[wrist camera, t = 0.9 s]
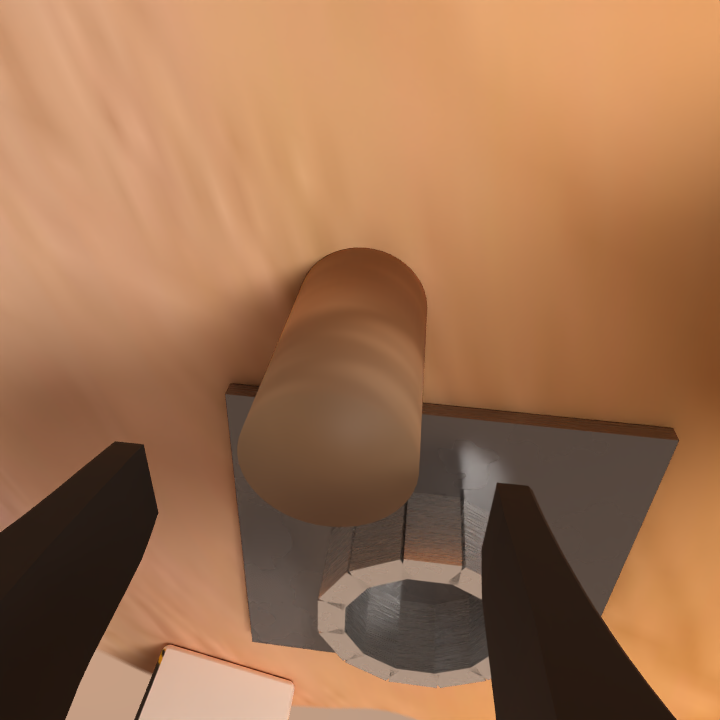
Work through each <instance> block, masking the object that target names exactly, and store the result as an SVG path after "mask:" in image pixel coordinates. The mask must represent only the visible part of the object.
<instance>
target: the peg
mask: <svg viewBox="0 0 720 720" xmlns="http://www.w3.org/2000/svg"><path fill="white" fill-rule="evenodd" d="M426 321H427V300H426V295H425V291H424V289H423V286H422V284H421V282H420V281H419V279H418V277H417V276H416V275H415V273H414V272H413V271H412V270H411V269H410V268H409V267H408V266H407V265H406V264H405V263H403V262H402V261H401V260H399V259H397V258H396V257H394V256H392V255H390V254H388V253H385V252H383V251H379V250H375V249H369V248H349V249H344V250H340V251H337V252H334V253H332V254H330V255H328V256H326V257H324V258H323V259H321V260H320V261H319V262H317V263H316V264H315V265H314V266H313V267H312V268H311V270H310V271H309V272H308V274H307V275H306V277H305V279H304V281H303V283H302V286H301V288H300V291H299V293H298V295H297V298H296V300H295V303H294V305H293V307H292V310H291V312H290V315H289V317H288V319H287V322H286V324H285V327H284V329H283V331H282V334H281V336H280V339H279V341H278V343H277V346H276V348H275V351H274V353H273V355H272V358H271V360H270V363H269V365H268V368H267V370H266V372H265V375H264V377H263V380H262V382H261V384H260V387H259V389H258V392H257V394H256V396H255V399H254V401H253V404H252V406H251V408H250V411H249V413H248V416H247V418H246V420H245V423H244V425H243V428H242V430H241V433H240V436H239V439H238V445H237V456H238V461H239V465H240V468H241V471H242V473H243V475H244V477H245V479H246V481H247V482H248V483H249V485H250V486H251V488H252V489H253V490H254V491H255V492H256V493H257V494H258V495H259V496H260V497H261V498H262V499H263V500H264V501H265V502H267V503H268V504H269V505H271V506H272V507H274V508H275V509H277V510H279V511H280V512H282V513H284V514H286V515H288V516H291V517H293V518H295V519H298V520H301V521H304V522H307V523H311V524H315V525H321V526H329V527H352V526H360V525H365V524H369V523H372V522H376V521H379V520H381V519H383V518H385V517H387V516H389V515H391V514H392V513H394V512H396V511H397V510H398V509H399V508H400V507H402V506H403V505H404V504H405V503H406V502H407V500H408V499H409V498H410V496H411V495H412V493H413V492H414V489H415V487H416V485H417V481H418V477H419V462H420V442H421V422H422V401H423V381H424V361H425V341H426Z"/></svg>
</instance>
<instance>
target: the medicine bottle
mask: <svg viewBox="0 0 720 720" xmlns="http://www.w3.org/2000/svg"><path fill="white" fill-rule="evenodd" d="M293 694H294V684H293V683H292V682H291V681H289V680H286V679H283V678H279V677H276V676H273V675H269V674H266V673H263V672H260V671H256V670H253V669H250V668H246V667H243V666H240V665H237V664H233V663H230V662H227V661H223V660H220V659H217V658H214V657H210V656H207V655H204V654H200V653H197V652H194V651H190V650H187V649H184V648H181V647H177V646H174V645H167V646H165V647H164V649H163V650H162V652H161V654H160V657H159V659H158V662H157V664H156V667H155V669H154V672H153V674H152V677H151V679H150V682H149V684H148V687H147V689H146V692H145V695H144V697H143V699H142V702H141V704H140V707H139V709H138V712H137V714H136V717H135V719H134V720H288V718H289V713H290V709H291V704H292V699H293Z"/></svg>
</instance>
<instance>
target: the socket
mask: <svg viewBox="0 0 720 720" xmlns="http://www.w3.org/2000/svg"><path fill="white" fill-rule="evenodd" d="M258 389H259V387H258V386H248V385H238V384H230V386H229V388H228V390H227V392H226V394H225V396H226V405H227V414H228V423H229V432H230V441H231V450H232V460H233V469H234V478H235V487H236V496H237V505H238V514H239V523H240V532H241V542H242V551H243V560H244V569H245V578H246V587H247V596H248V605H249V614H250V624H251V633H252V642H258V643H266V644H273V645H281V646H288V647H296V648H303V649H311V650H319V651H326V652H334V653H337V654H338V656H339V657H340V658H341V659H342V660H345V662H346V663H348V664H350V665H353V666H355V667H357V668H359V669H361V670H364V671H366V672H368V673H370V674H372V675H375V676H377V677H379V678H381V679H383V680H385V681H386V680H387V679H389V682H396V683H404V684H411V685H419V686H426V687H434V688H437V685H438V686H439V687H440V688H443V687H449V686H456V685H462V684H469V683H475V682H481V681H486V679H488V680H489V679H491V672H490V664H489V656H488V648H487V639H486V631H485V623H484V614H483V605H482V579H481V549H482V545H483V540H484V536H485V532H486V527H487V523H488V519H489V514H490V510H491V506H492V501H493V497H494V493H495V488H496V484H497V482H499V483H508V484H517V485H527V486H529V487H530V488H531V489H532V490H533V493H534V495H535V497H536V500H537V502H538V504H539V506H540V508H541V511H542V513H543V515H544V517H545V519H546V521H547V523H548V525H549V527H550V529H551V531H552V533H553V535H554V537H555V539H556V541H557V543H558V545H559V546H560V548H561V550H562V552H563V554H564V556H565V558H566V559H567V561H568V563H569V565H570V566H571V568H572V570H573V572H574V573H575V575H576V577H577V579H578V580H579V582H580V584H581V585H582V587H583V589H584V591H585V592H586V594H587V595H588V597H589V599H590V600H591V602H592V604H593V605H594V607H595V608H596V610H597V611H598V613H599V615H600V616H601V615H602V613H603V611H604V609H605V606H606V604H607V602H608V600H609V597H610V595H611V593H612V590H613V588H614V586H615V584H616V581H617V579H618V577H619V575H620V572H621V570H622V568H623V566H624V563H625V561H626V559H627V557H628V554H629V552H630V550H631V548H632V545H633V543H634V541H635V539H636V536H637V534H638V532H639V530H640V527H641V525H642V523H643V521H644V518H645V516H646V514H647V512H648V509H649V507H650V505H651V503H652V500H653V498H654V496H655V494H656V491H657V489H658V487H659V485H660V482H661V480H662V478H663V476H664V473H665V471H666V469H667V467H668V464H669V462H670V460H671V458H672V455H673V453H674V451H675V449H676V446H677V444H678V442H679V439H678V437H677V435H676V433H675V431H674V429H673V428H664V427H654V426H644V425H634V424H624V423H615V422H605V421H595V420H585V419H575V418H565V417H555V416H545V415H535V414H525V413H515V412H506V411H496V410H486V409H476V408H466V407H456V406H446V405H436V404H426V403H422V422H421V442H420V462H419V477H418V481H417V485H416V487H415V489H414V492H413V493H412V495H411V496H410V498H409V499H408V500H407V502H406V503H405V504H404V505H403V506H402V507H400V508H399V509H398V510H397V511H396V512H394V513H392V514H391V515H389V516H387V517H385V518H383V519H381V520H379V521H376V522H372V523H369V524H365V525H360V526H352V527H329V526H321V525H315V524H311V523H307V522H304V521H301V520H298V519H295V518H293V517H291V516H288V515H286V514H284V513H282V512H280V511H279V510H277V509H275V508H274V507H272V506H271V505H269V504H268V503H267V502H265V501H264V500H263V499H262V498H261V497H260V496H259V495H258V494H257V493H256V492H255V491H254V490H253V489H252V488H251V486H250V485H249V483H248V482H247V481H246V479H245V477H244V475H243V473H242V471H241V468H240V465H239V461H238V456H237V445H238V439H239V436H240V433H241V430H242V428H243V425H244V423H245V420H246V418H247V416H248V413H249V411H250V408H251V406H252V404H253V401H254V399H255V396H256V394H257V392H258Z"/></svg>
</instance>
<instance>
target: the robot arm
mask: <svg viewBox="0 0 720 720" xmlns="http://www.w3.org/2000/svg"><path fill="white" fill-rule="evenodd" d="M157 515H158V509H157V504H156V500H155V495H154V490H153V486H152V481H151V477H150V472H149V467H148V463H147V458H146V454H145V449H144V445H143V444H134V443H124V442H114V443H113V444H111V445H110V446H109V447H108V448H106V449H105V450H104V451H103V452H101V453H100V454H99V455H98V456H96V457H95V458H94V459H93V460H91V461H90V462H89V463H88V464H87V465H85V466H84V467H83V468H82V469H81V470H79V471H78V472H77V473H76V474H74V475H73V476H72V477H71V478H70V479H68V480H67V481H66V482H65V483H63V484H62V485H61V486H60V487H59V488H57V489H56V490H55V491H54V492H52V493H51V494H50V495H49V496H47V497H46V498H45V499H44V500H42V501H41V502H40V503H39V504H37V505H36V506H35V507H33V508H32V509H31V510H30V511H28V512H27V513H26V514H25V515H23V516H22V517H21V518H19V519H18V520H17V521H15V522H14V523H13V524H11V525H10V526H8V527H7V528H6V529H4V530H3V531H2V532H0V720H65V718H66V716H67V714H68V711H69V708H70V706H71V704H72V701H73V699H74V696H75V694H76V691H77V688H78V686H79V684H80V681H81V679H82V677H83V675H84V673H85V671H86V669H87V666H88V664H89V662H90V660H91V658H92V656H93V654H94V652H95V650H96V648H97V646H98V644H99V642H100V640H101V638H102V637H103V635H104V633H105V631H106V629H107V627H108V625H109V623H110V621H111V619H112V617H113V615H114V613H115V611H116V609H117V607H118V605H119V603H120V601H121V599H122V598H123V596H124V594H125V592H126V590H127V588H128V586H129V584H130V582H131V580H132V578H133V576H134V574H135V572H136V570H137V568H138V566H139V564H140V562H141V560H142V557H143V554H144V552H145V549H146V546H147V544H148V541H149V539H150V536H151V533H152V530H153V527H154V524H155V521H156V518H157ZM481 579H482V605H483V614H484V623H485V631H486V639H487V648H488V656H489V664H490V672H491V680H492V688H493V696H494V705H495V713H496V720H677V719H676V718H675V717H674V716H673V715H672V713H671V712H670V711H669V710H668V708H667V707H666V706H665V705H664V703H663V702H662V701H661V699H660V698H659V697H658V696H657V694H656V693H655V692H654V691H653V689H652V688H651V687H650V685H649V684H648V683H647V682H646V680H645V679H644V678H643V676H642V675H641V674H640V672H639V671H638V670H637V668H636V667H635V665H634V664H633V663H632V661H631V660H630V659H629V657H628V656H627V655H626V653H625V652H624V650H623V649H622V647H621V646H620V645H619V643H618V642H617V640H616V639H615V637H614V636H613V634H612V633H611V631H610V630H609V628H608V627H607V625H606V624H605V622H604V621H603V619H602V618H601V616H600V615H599V613H598V611H597V610H596V608H595V607H594V605H593V604H592V602H591V600H590V599H589V597H588V595H587V594H586V592H585V591H584V589H583V587H582V585H581V584H580V582H579V580H578V579H577V577H576V575H575V573H574V572H573V570H572V568H571V566H570V565H569V563H568V561H567V559H566V558H565V556H564V554H563V552H562V550H561V548H560V546H559V545H558V543H557V541H556V539H555V537H554V535H553V533H552V531H551V529H550V527H549V525H548V523H547V521H546V519H545V517H544V515H543V513H542V511H541V508H540V506H539V504H538V502H537V500H536V497H535V495H534V493H533V490H532V489H531V488H530V487H529V486H527V485H517V484H508V483H499V482H497V484H496V488H495V493H494V497H493V501H492V506H491V510H490V514H489V519H488V523H487V527H486V532H485V536H484V540H483V545H482V549H481Z"/></svg>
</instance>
